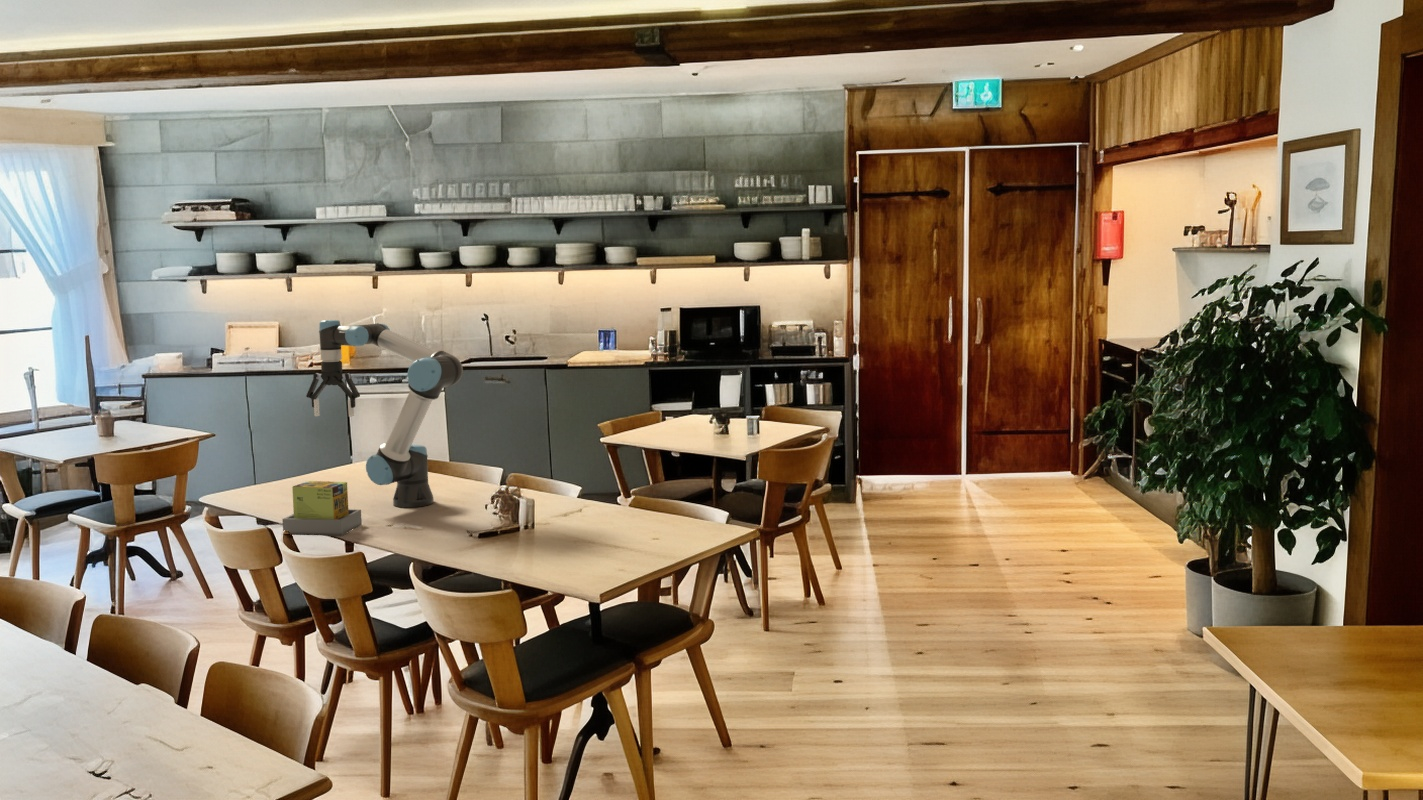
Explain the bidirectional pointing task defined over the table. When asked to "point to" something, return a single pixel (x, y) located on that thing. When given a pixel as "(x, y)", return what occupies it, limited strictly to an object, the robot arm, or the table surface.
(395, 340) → the robot arm
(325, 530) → the tray
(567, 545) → the table surface
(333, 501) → the protein box
